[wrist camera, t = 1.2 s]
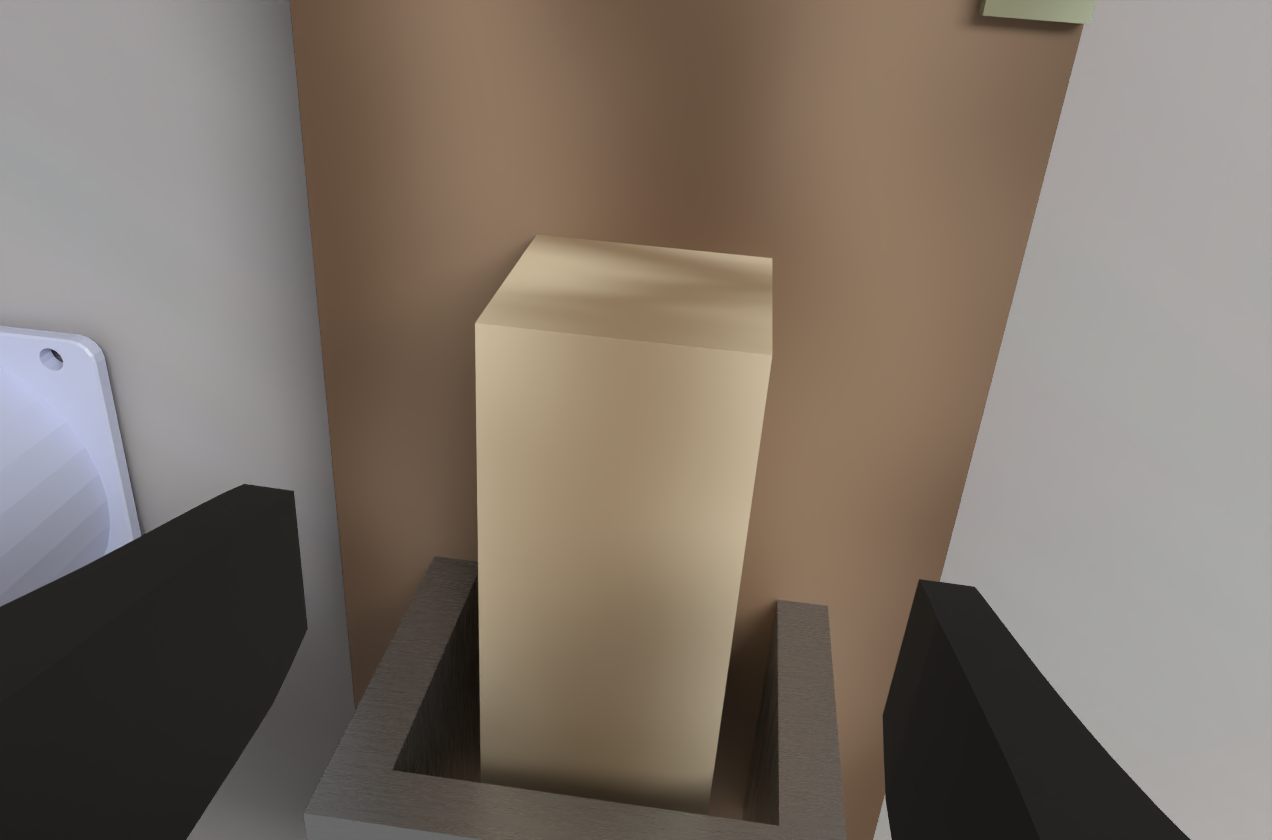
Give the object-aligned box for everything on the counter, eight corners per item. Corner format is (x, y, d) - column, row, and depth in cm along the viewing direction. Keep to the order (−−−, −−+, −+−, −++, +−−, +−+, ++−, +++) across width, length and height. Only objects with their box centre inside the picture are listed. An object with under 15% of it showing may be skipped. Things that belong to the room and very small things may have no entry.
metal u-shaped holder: (442, 766, 23) (335, 1050, 17) (434, 556, 20) (303, 812, 15) (786, 815, 23) (792, 1126, 17) (827, 606, 20) (850, 894, 14)
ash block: (525, 864, 24) (484, 1027, 21) (536, 234, 17) (474, 323, 13) (687, 889, 24) (673, 1058, 21) (772, 258, 17) (772, 355, 13)
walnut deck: (412, 950, 31) (381, 1042, 28) (327, -332, 16) (244, -374, 13) (803, 1011, 30) (805, 1112, 27) (1112, -286, 15) (1179, -322, 12)
